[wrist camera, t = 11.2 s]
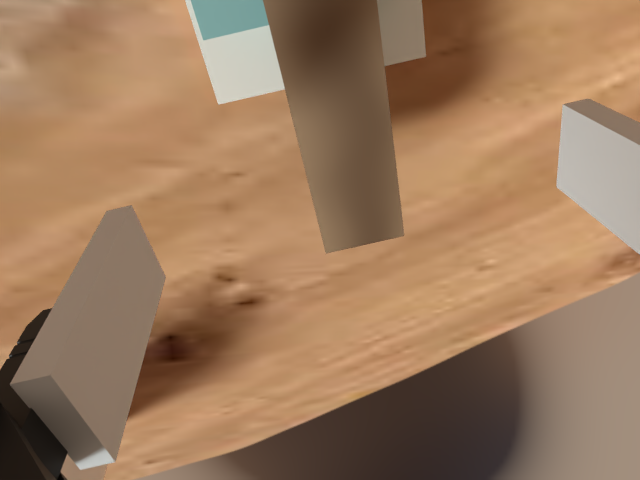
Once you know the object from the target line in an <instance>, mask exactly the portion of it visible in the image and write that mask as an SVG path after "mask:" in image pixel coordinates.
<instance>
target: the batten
mask: <svg viewBox="0 0 640 480" xmlns="http://www.w3.org/2000/svg"><path fill="white" fill-rule="evenodd" d="M263 3H264V7H265V11H266V15H267V19H268V23H269V27H270V31H271V35H272V39H273V43H274V47H275V51H276V55H277V59H278V63H279V67H280V71H281V75H282V79H283V83H284V87H285V91H286V95H287V99H288V103H289V107H290V111H291V115H292V119H293V123H294V127H295V131H296V135H297V139H298V143H299V147H300V151H301V155H302V159H303V164H304V168H305V172H306V176H307V180H308V184H309V188H310V192H311V196H312V200H313V204H314V208H315V212H316V216H317V220H318V224H319V228H320V232H321V236H322V240H323V244H324V248H325V252H326V253H331V252H335V251H339V250H344V249H348V248H353V247H357V246H362V245H366V244H370V243H375V242H379V241H384V240H388V239H393V238H397V237H401V236H404V229H403V220H402V212H401V203H400V195H399V186H398V177H397V169H396V160H395V152H394V143H393V134H392V126H391V117H390V109H389V100H388V91H387V83H386V74H385V66H384V57H383V48H382V40H381V31H380V23H379V14H378V5H377V0H263Z"/></svg>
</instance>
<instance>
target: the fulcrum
mask: <svg viewBox="0 0 640 480" xmlns="http://www.w3.org/2000/svg"><path fill="white" fill-rule="evenodd" d="M185 1H186V4H187V8H188V11H189V14H190V17H191V20H192V23H193V26H194V30H195V33H196V36H197V39H198V42H199V45H200V48H201V51H202V55H203V58H204V61H205V64H206V67H207V70H208V73H209V77H210V80H211V83H212V86H213V89H214V92H215V95H216V99H217V102H218V105H219V104H223V103H227V102H232V101H236V100H240V99H245V98H249V97H253V96H258V95H262V94H266V93H271V92H275V91H279V90H284V89H285V87H284V83H283V79H282V75H281V71H280V67H279V63H278V59H277V55H276V51H275V47H274V43H273V39H272V35H271V31H270V27H269V23H268V19H267V15H266V11H265V7H264V3H263V0H185ZM377 5H378V14H379V23H380V31H381V40H382V48H383V57H384V66H388V65H392V64H397V63H401V62H405V61H410V60H414V59H418V58H423V57H426V49H425V36H424V23H423V10H422V0H377Z"/></svg>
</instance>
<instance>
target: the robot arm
mask: <svg viewBox="0 0 640 480" xmlns="http://www.w3.org/2000/svg"><path fill="white" fill-rule="evenodd" d="M556 187H557V188H559V189H560V190H561V191H562V192H564V193H565V194H566V195H567V196H568V197H570V198H571V199H572V200H573V201H575V202H576V203H577V204H578V205H579V206H581V207H582V208H583V209H584V210H586V211H587V212H588V213H589V214H590V215H592V216H593V217H594V218H595V219H597V220H598V221H599V222H600V223H601V224H603V225H604V226H605V227H606V228H608V229H609V230H610V231H611V232H612V233H614V234H615V235H616V236H617V237H619V238H620V239H621V240H622V241H624V242H625V243H626V244H627V245H628V246H630V247H631V248H632V249H633V250H635V251H636V252H637V253H638V254H639V255H640V123H639V122H637V121H635V120H633V119H631V118H629V117H627V116H624V115H622V114H620V113H618V112H616V111H614V110H612V109H610V108H607V107H605V106H603V105H601V104H599V103H597V102H595V101H593V100H590V99H584V100H580V101H575V102H571V103H567V104H563V109H562V122H561V135H560V147H559V160H558V173H557V186H556ZM165 278H166V277H165V274H164V272H163V270H162V268H161V266H160V264H159V262H158V260H157V258H156V256H155V253H154V251H153V249H152V247H151V245H150V243H149V241H148V239H147V237H146V234H145V232H144V230H143V228H142V226H141V224H140V222H139V220H138V218H137V216H136V213H135V211H134V209H133V207H132V205H130V206H126V207H122V208H118V209H113V210H109V211H106V213H105V215H104V217H103V219H102V220H101V222H100V224H99V226H98V228H97V229H96V231H95V233H94V235H93V236H92V238H91V240H90V242H89V244H88V245H87V247H86V249H85V251H84V253H83V254H82V256H81V258H80V260H79V261H78V263H77V265H76V267H75V269H74V270H73V272H72V274H71V276H70V278H69V279H68V281H67V283H66V285H65V286H64V288H63V290H62V292H61V294H60V295H59V297H58V299H57V301H56V303H55V304H54V306H53V308H51V309H46V310H43V311H42V312H41V313H40V314H39V315H38V316H37V317H36V318H35V319H34V320H33V321H32V322H31V323H29V324H28V325H27V326H26V328H25V330H24V331H23V333H22V335H21V336H20V338H19V340H18V341H17V345H16V346H14V348H13V350H12V351H11V353H10V355H9V359H7V360H6V361H5V363H4V365H3V366H2V368H1V370H0V480H67V479H66V477H65V476H64V475H63V474H62V473H61V469H62V466H63V464H64V461H65V458H66V456H67V454H68V456H69V457H70V458H71V459H72V460H73V462H74V463H75V464H76V465H77V466H78V468H79V469H80V470H82V469H87V468H91V467H96V466H100V465H104V464H109V463H113V462H115V461H116V458H117V454H118V450H119V447H120V443H121V439H122V436H123V432H124V428H125V425H126V421H127V418H128V414H129V410H130V407H131V403H132V399H133V396H134V392H135V388H136V385H137V381H138V377H139V374H140V370H141V366H142V363H143V359H144V355H145V352H146V348H147V344H148V341H149V337H150V333H151V330H152V326H153V322H154V319H155V315H156V311H157V308H158V304H159V300H160V297H161V293H162V289H163V286H164V282H165Z"/></svg>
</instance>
